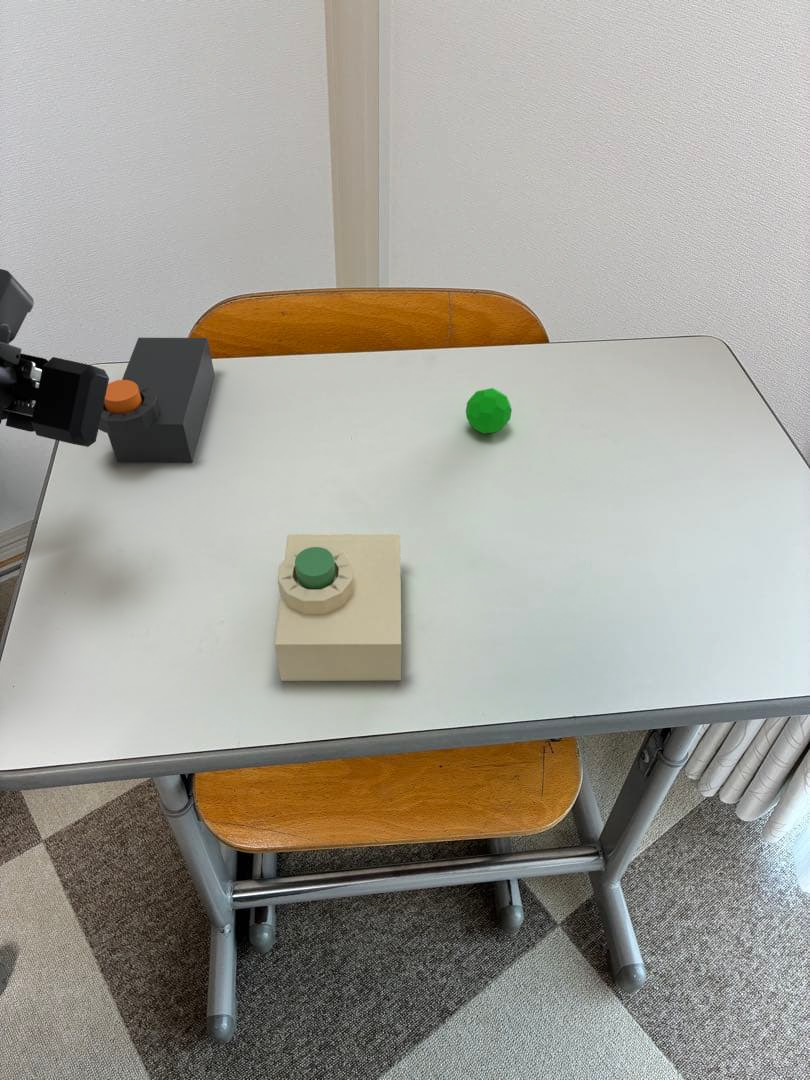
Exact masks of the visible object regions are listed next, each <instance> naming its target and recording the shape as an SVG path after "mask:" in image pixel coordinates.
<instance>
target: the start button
mask: <svg viewBox="0 0 810 1080" xmlns="http://www.w3.org/2000/svg"><path fill="white" fill-rule="evenodd" d="M104 404H105V407H106V410H107V411H108V412H110V413H112V414H125V413H128V412H131V411H134V410H136V409H137V408H138V407H140V406H141V404H142V399H141V395H140V392H139V388H138V386H137V384H136V383H134V382H133V381H130V380H122V379H117V380H114V381H110V382H108V386H107V391H106V396H105V401H104Z"/></svg>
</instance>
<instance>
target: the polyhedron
mask: <svg viewBox="0 0 810 1080" xmlns="http://www.w3.org/2000/svg"><path fill="white" fill-rule="evenodd" d="M512 411H513V409H512V406H511V402H510V400H509V398H508V395H506V394H505V393H503V392H502V391H500V390H498V389H496V388H495V387H490V388H485V389H481V390H477V391H475V392H474V394H472V396H471V397H469V399H468V400H467V402H466V407H465V416H466V419H467V422H468V423H469V426H470V427H472V428H473V429H474V430H475V431H478V432H479V433H482V434H483V435H485V434H493V433H497V432H501V430H502V429H503V428H504V427H505V426H506V425H507V424H508V422H510V420H511V417H512Z"/></svg>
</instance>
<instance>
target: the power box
mask: <svg viewBox="0 0 810 1080" xmlns="http://www.w3.org/2000/svg"><path fill="white" fill-rule="evenodd" d="M286 537H287V538H286V544H285V545H286V546H285V553H284V554H285V555H284V559H283V560H282V562H280V564H279V566H278V575H277V583H278V589H279V594H280V596H279V604H278V611H277V619H276V626H275V627H276V629H275V636H274V650H275V655H276V660H277V661H276V662H277V667H278V670H279V671H278V672H279V677H280V681H281V682H288V681H289V682H319V681H321V682H325V681H326V682H327V681H330V682H331V681H333V682H336V681H338V682H339V681H342V682H344V681H353V682H354V681H357V682H358V681H359V682H360V681H361V682H362V681H363V682H364V681H371V682H372V681H401V679H402V586H401V585H402V582H401V578H402V577H401V535H400V534H287V536H286ZM311 547H321V548H324V549H327V550H328V551H330V552H331V554H332V555H333V557H334V561H335V578H334V580H333V582H332V583H331V584H330V585H328V586H327V587H325V588H322V589H308V588H305V587H303V586H302V585H301V584H300V583H299V582H298V580H297V576H296V569H295V559H296V557H297V555H298V554H299V553H300V552H301V551H303V550H305V549H307V548H311Z"/></svg>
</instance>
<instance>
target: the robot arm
mask: <svg viewBox="0 0 810 1080" xmlns="http://www.w3.org/2000/svg"><path fill="white" fill-rule="evenodd" d="M34 304H35V300H34V298H33V296H32V295H30V293H29V292H28V291H27V290H26V289H25V287H23V285H21V283H19V281H18V280H17V279H16V278H15V277H14V275H13V274H12V273H10V271H9V270H6V269H2V268H0V424H2V421H3V420H6V422H5V427H8V428H12V429H16V430H20V431H24V432H28V433H29V432H30V433H35V435H36V436H38V437H42V438H45V439H51V440H54V441H59V442H63V443H67V444H71V445H75V446H76V445H77V446H81V447H87V448H89V447H90V446H91V445H93V444H94V443H96V442H97V438H98V435H99V434H98V433H99V424H100V419H101V415H102V410H103V405H104V401H105V396H106V391H107V386H108V384H109V383H110V382H109V381H110V377H109V375H108V374H107V372H106V370H105V369H103V368H100V367H98V366H95V365H91V364H88V363H83V362H78V361H73V360H69V359H65V358H60V357H55V356H52V357H51V358H50V359H49V360H48V359H47V358H44V357H41V356H35V355H30V354H26V353H22V350H23V349H22V348H20V347H17V346H15V345H13V344H10V343H12V342H13V341H14V340H15V338H16V337H17V335H18V333H19V331H20V329H21V327H22V325H23V323H24V321H25V319H26V317H27V315H28V313H31V311H32V310H33V308H34Z"/></svg>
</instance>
